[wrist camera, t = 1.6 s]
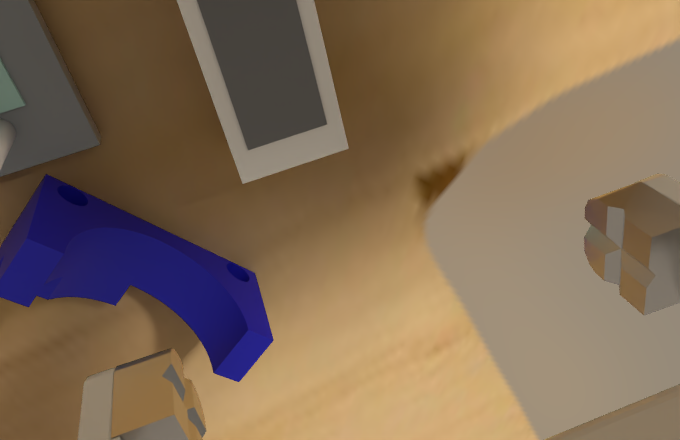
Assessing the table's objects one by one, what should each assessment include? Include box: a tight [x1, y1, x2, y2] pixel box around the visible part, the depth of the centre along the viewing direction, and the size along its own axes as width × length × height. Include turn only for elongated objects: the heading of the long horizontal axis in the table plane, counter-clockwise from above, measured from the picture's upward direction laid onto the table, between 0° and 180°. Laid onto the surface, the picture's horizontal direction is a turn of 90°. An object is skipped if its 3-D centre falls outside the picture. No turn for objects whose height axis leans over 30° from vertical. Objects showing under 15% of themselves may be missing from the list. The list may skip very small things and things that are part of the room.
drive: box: [177, 0, 349, 184], centre depth 26 cm, size 5×10×5 cm, turn 14°
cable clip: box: [0, 174, 273, 382], centre depth 29 cm, size 12×4×6 cm, turn 52°
